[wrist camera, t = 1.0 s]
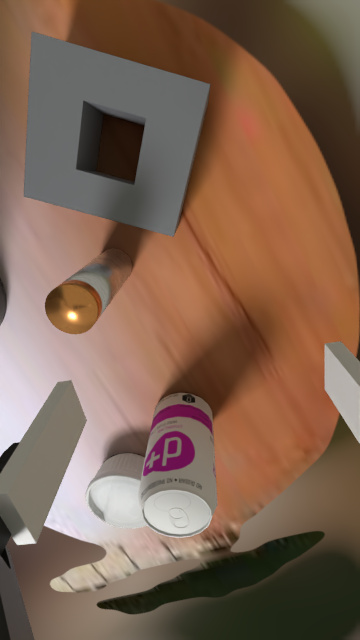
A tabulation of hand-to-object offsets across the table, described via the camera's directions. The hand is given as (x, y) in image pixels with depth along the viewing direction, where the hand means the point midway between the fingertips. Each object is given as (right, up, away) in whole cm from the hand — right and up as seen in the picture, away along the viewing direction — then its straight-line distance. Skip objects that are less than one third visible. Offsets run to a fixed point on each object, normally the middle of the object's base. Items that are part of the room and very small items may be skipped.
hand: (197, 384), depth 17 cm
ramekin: (-9, -21, +34) cm, 41 cm away
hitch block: (-6, +20, +16) cm, 27 cm away
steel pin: (-8, +10, +21) cm, 24 cm away
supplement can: (0, -10, +29) cm, 31 cm away
